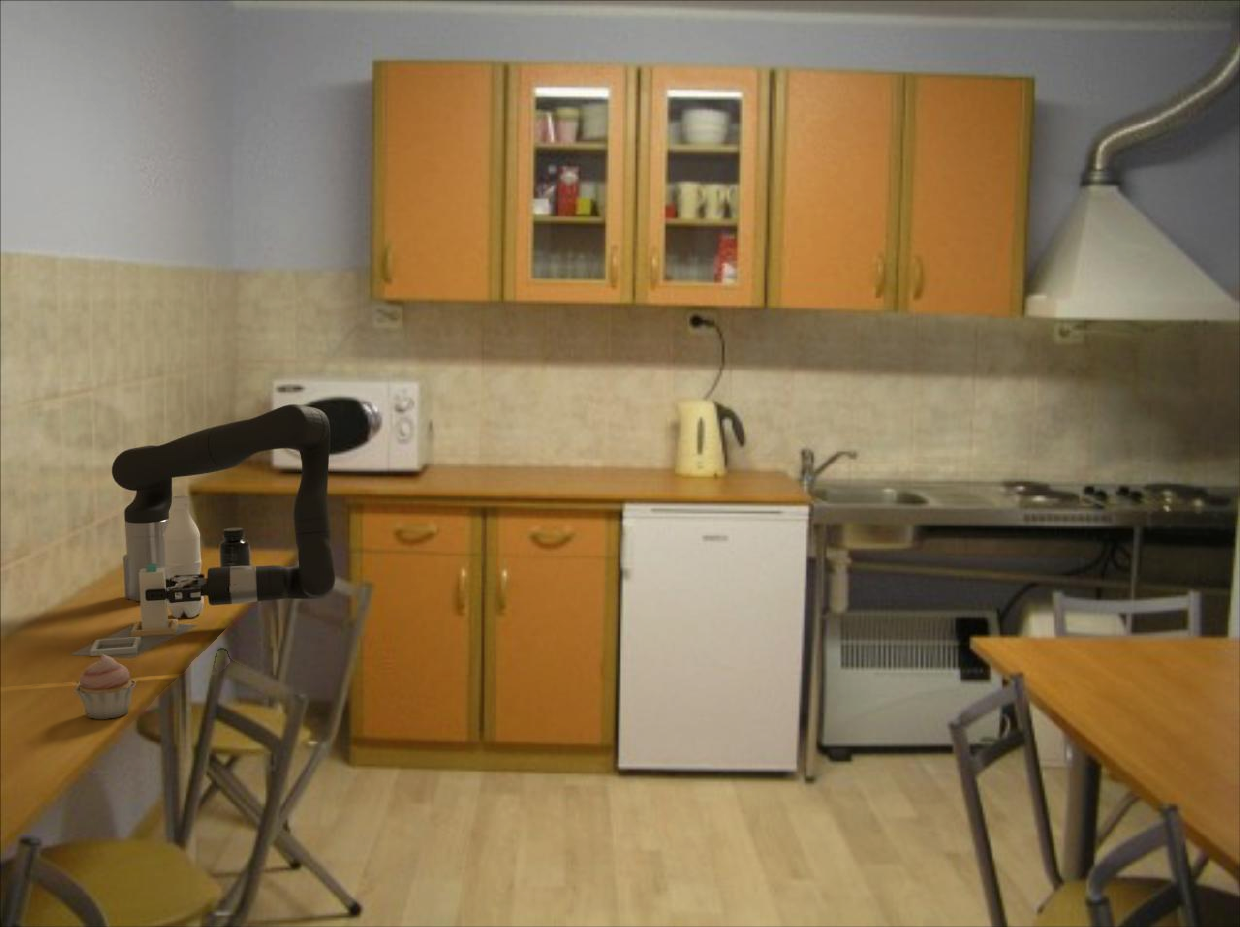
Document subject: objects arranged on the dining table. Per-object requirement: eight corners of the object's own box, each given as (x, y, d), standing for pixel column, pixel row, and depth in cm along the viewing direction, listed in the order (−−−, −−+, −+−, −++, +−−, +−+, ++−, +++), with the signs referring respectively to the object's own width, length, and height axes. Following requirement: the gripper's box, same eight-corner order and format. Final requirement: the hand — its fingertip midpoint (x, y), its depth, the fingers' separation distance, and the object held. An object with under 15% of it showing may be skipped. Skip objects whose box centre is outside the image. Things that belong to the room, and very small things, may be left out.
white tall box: (142, 633, 271) (138, 568, 270) (144, 627, 276) (140, 563, 274) (166, 631, 273) (162, 567, 271) (168, 626, 277) (164, 562, 275)
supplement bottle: (257, 578, 322) (255, 527, 320) (235, 584, 316) (232, 532, 315) (237, 575, 326) (234, 525, 324) (214, 581, 320) (211, 530, 318)
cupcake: (90, 705, 229) (86, 646, 227) (146, 705, 228) (143, 646, 227) (66, 723, 219) (62, 662, 218) (124, 723, 219) (120, 662, 218)
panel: (68, 658, 257) (67, 649, 256) (140, 624, 281) (139, 617, 280) (132, 661, 254) (131, 652, 254) (199, 627, 278) (198, 619, 278)
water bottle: (193, 620, 284) (187, 500, 280) (161, 619, 285) (154, 499, 282) (210, 612, 291) (204, 494, 287) (179, 610, 292) (172, 493, 289)
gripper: (233, 559, 283) (149, 564, 279) (230, 574, 269) (142, 579, 265) (235, 595, 284) (152, 600, 280) (232, 611, 270) (145, 617, 266)
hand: (147, 590), depth 273 cm, fingers open, 8 cm apart
